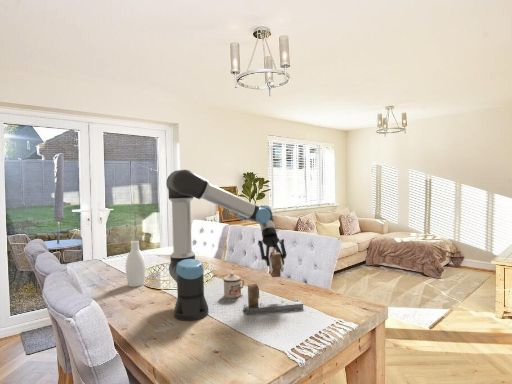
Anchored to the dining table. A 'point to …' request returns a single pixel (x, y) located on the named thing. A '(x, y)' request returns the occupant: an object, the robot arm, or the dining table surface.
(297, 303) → the rail
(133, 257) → the bottle
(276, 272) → the brown wooden upright block
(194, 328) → the dining table surface
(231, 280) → the teacup with lid
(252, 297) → the post
